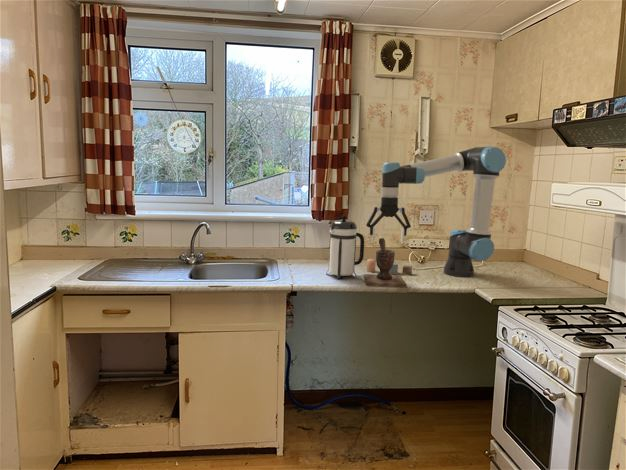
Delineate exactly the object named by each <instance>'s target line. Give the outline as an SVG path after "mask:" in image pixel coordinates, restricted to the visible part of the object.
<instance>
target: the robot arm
mask: <svg viewBox="0 0 626 470" xmlns="http://www.w3.org/2000/svg"><path fill="white" fill-rule="evenodd" d="M506 165H507V156H506V154H505V152H504V151H503V150H502V148H500V147H497V146H490V145H489V146H476V147H473V148H468V149H465V150H462V151H456V152H455V153H454V154H453V155H449V156H443V157H439V158H434V159H430V160H425V161H420V162H414V163H409V164H406V165H405V164H404V165H400V162H390V161H389V162H388V161H387V162H383V165H382V172H381V173H382V175H381V176H382V179H381V181H382V183H381V184H382V185H381V196H382V197H381V198H380V202H381V203H380V207H378V206H374V207H373V212H372V213H371V215H370V217H369V218H368V221H367V222H366V224H365V225H366V227H368V228H369V235H370V236H371V243H373V244H374V243H375V234H376V233H375V231H376V228H375V227H376V225H377V224H379V222H380V221H381V220H382V218H384V217H385V218H389V217H390V218H394V217H395V219H396V220H397V221H398V224H400V225H401V226H402V228H401V237H400V242H401V243H402V244H404V243H405V242H404V241H405V237H406V236H407V230H408V229H410V228H411V227H412V225H411V223H410V221H409V218H408V216H407V214H406V208H405V207H404V206H402V207H399V206H398V205H399V197H398V196H399V186H400V184H405V185H406V184H411V185H413V184H415V185H416V184H417V185H418V184H423V182H424V181H425V178H426V177H431V176H436V175H441V174H444V173H450V172H455V171H457V172H459V173H460V172H466V171H467V172H468V171H473V172H472V176H473V177H475V181H474V182H475V183H474V192H473V200H472V205H471V207H472V208H471V214H470V223H469V228H467V229H452V230H451V231H450V233H449V245H448V254H447V255H448V257H447V260H446V262H445V264H444V266H443V273H444V274H445V275H446V274H447V275H449V276H453V277H461V278H462V277H463V278H464V277H465V278H467V277H474V275H475V268H474V265H473V261H478V262H482V261H486V260H488V259H489V258H491V256H492V255H493V254H494V251H495V243H494V241H493V240H492V238H491V237H492V232H491V231H490V230H489V228H490V219H491V212H492V206H493V205H492V204H493V198H494V197H493V196H494V189H495V183H496V182H495V181H496V180H497V179H498V178H499V177H500V173H501V171H502V170H503V169H504V168H505V167H506ZM379 211H380V212H381V213H380V214H378V217H377V218H376V219H375V220H374V218H375V216H376V215H377V213H378V212H379ZM398 212H399V213H401V215H402V217H403V220H404V222H405V223H404V222H403V220H402V219H401V218H400V216H399V215H398V214H397V213H398ZM405 224H406V225H405ZM472 260H473V261H472Z"/></svg>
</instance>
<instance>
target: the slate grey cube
mask: <svg viewBox="0 0 626 470" xmlns="http://www.w3.org/2000/svg"><path fill="white" fill-rule="evenodd" d="M398 269H399V264H398V263H396V262H394V264H393V267H392V268H391V269H390V270H389V272H390V273H391V275H398V274H399V272H398Z"/></svg>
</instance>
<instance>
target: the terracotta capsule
mask: <svg viewBox="0 0 626 470" xmlns="http://www.w3.org/2000/svg"><path fill="white" fill-rule="evenodd" d="M366 261H367V262H366V272H368V273H376V267H377V263H376V258H367V260H366Z"/></svg>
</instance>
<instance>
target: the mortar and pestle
mask: <svg viewBox="0 0 626 470" xmlns="http://www.w3.org/2000/svg"><path fill="white" fill-rule="evenodd" d="M378 244H379V248H380V249H377V250H376V253H375V260H376V267H377V268H378V269H379V272H378V273H377V274H376V275H377V276H376V277H377V278H379V279H384V280H389V279H392V275H393V274H391V273H390V272H389V270H390V269H391V268H392V267H393V264H394V263H395V256H396V255H395V253H396V251H395V250H394V249H388V248H386V240H385V238H379V240H378Z"/></svg>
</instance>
